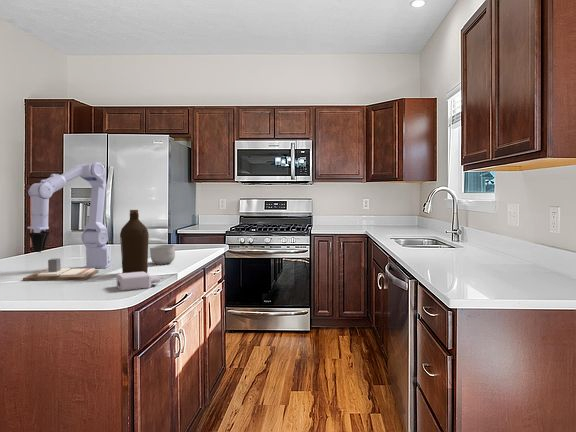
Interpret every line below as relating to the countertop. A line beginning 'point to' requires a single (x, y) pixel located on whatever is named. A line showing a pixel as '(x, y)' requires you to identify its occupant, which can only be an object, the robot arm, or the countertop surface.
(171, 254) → the teacup
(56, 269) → the stub
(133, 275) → the charger
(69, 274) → the ticket
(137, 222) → the olive oil
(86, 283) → the countertop surface
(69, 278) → the board
